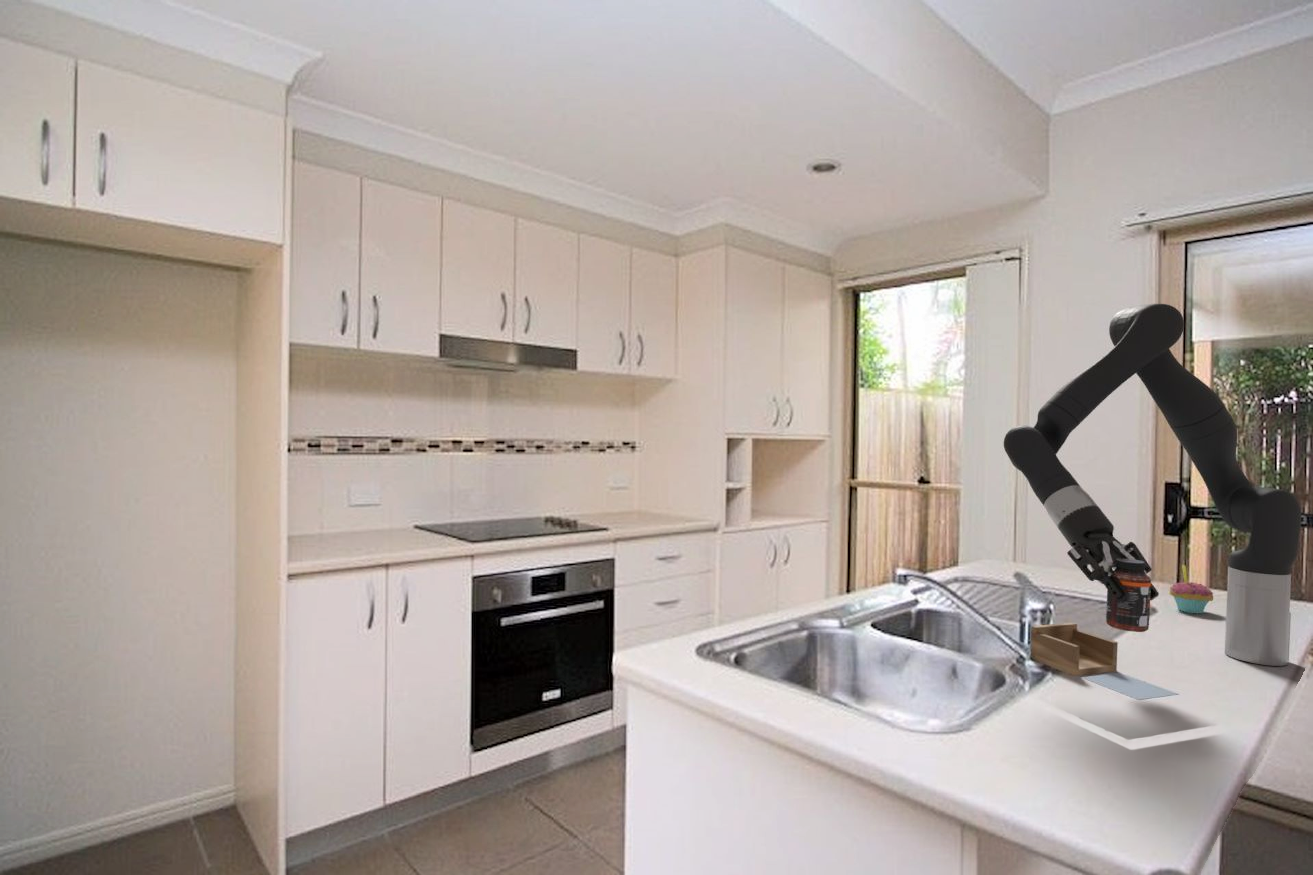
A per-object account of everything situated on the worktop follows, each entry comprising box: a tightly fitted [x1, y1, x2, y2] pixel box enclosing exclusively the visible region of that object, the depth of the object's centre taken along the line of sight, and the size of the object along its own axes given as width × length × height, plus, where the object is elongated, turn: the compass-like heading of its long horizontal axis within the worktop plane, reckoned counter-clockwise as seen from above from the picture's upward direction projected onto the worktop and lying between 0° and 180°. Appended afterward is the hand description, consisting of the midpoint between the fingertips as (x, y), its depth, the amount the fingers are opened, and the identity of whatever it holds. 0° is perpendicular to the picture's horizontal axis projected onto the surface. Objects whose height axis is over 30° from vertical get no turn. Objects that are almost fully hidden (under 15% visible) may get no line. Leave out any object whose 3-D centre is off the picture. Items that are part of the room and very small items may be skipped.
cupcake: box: [1169, 561, 1214, 615], centre depth 170 cm, size 9×8×12 cm
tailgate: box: [1080, 672, 1178, 701], centre depth 115 cm, size 9×1×10 cm
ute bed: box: [1030, 622, 1119, 677], centre depth 125 cm, size 10×9×7 cm
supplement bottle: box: [1105, 558, 1152, 633], centre depth 115 cm, size 6×6×11 cm
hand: (1139, 598), depth 113 cm, fingers closed on supplement bottle, 6 cm apart
